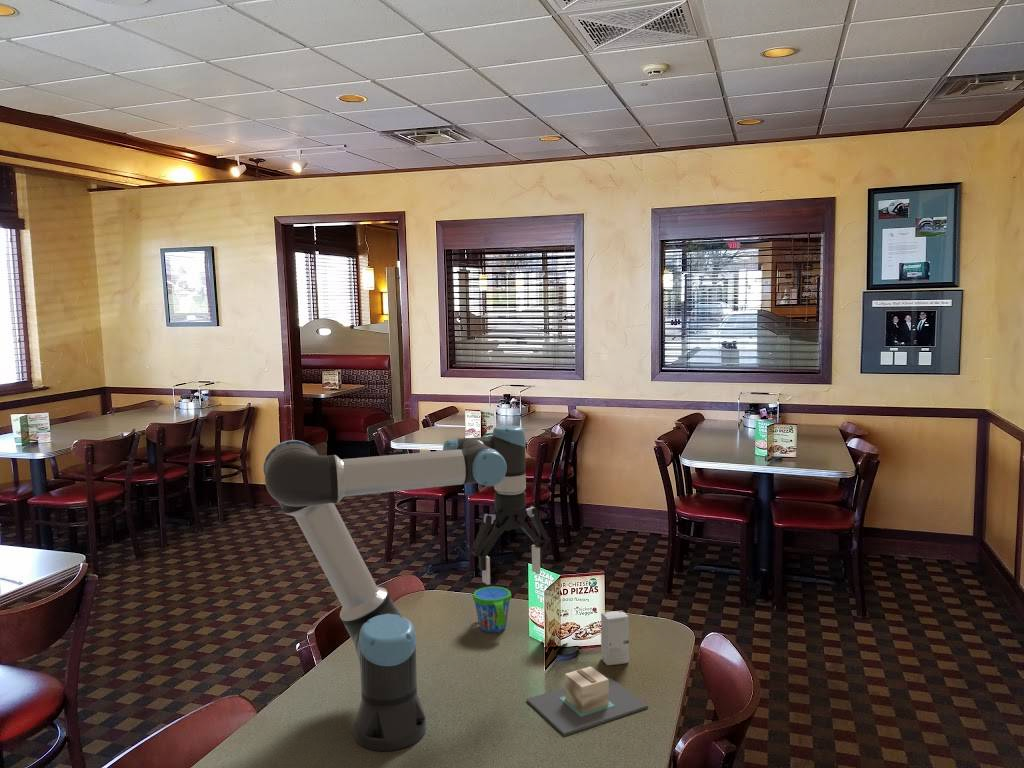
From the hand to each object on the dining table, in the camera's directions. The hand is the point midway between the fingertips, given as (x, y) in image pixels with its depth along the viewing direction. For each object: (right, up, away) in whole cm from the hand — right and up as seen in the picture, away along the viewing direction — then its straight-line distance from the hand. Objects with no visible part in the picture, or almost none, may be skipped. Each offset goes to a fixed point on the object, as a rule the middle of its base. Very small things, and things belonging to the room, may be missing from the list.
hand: (511, 577), depth 180 cm
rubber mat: (+17, -26, -11) cm, 33 cm away
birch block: (+17, -25, -11) cm, 32 cm away
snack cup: (-5, -22, +30) cm, 38 cm away
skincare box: (+26, -24, +9) cm, 36 cm away
